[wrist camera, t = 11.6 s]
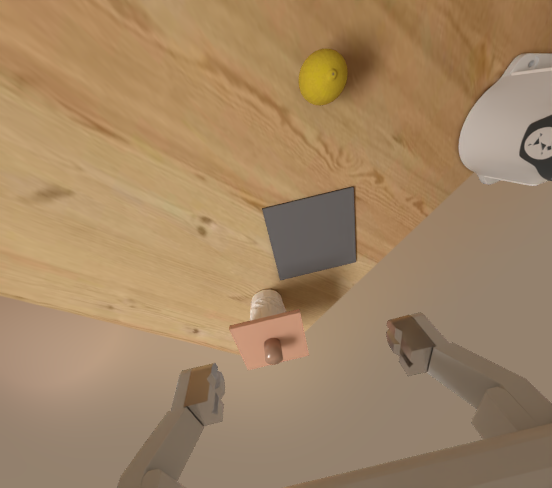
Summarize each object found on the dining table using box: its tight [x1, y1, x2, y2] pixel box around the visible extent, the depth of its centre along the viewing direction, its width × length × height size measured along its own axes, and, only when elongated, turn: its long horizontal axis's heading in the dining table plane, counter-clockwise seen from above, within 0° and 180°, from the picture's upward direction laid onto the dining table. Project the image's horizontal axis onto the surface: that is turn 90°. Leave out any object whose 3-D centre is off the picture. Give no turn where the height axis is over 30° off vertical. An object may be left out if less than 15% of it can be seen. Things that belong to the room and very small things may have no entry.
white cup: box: [250, 289, 286, 321], centre depth 46 cm, size 8×8×10 cm
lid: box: [229, 309, 309, 370], centre depth 40 cm, size 12×12×4 cm
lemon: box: [299, 49, 348, 105], centre depth 28 cm, size 6×6×8 cm
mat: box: [262, 187, 356, 280], centre depth 43 cm, size 16×16×1 cm
